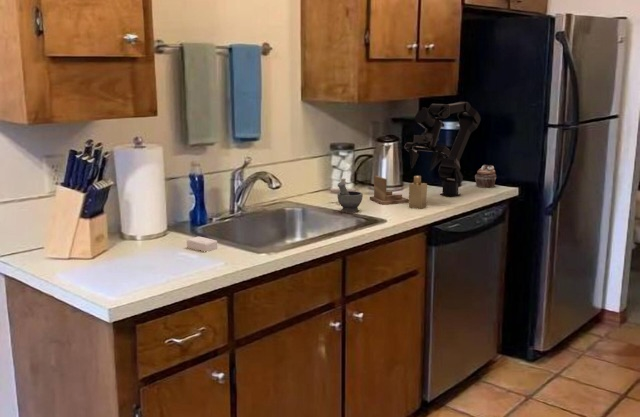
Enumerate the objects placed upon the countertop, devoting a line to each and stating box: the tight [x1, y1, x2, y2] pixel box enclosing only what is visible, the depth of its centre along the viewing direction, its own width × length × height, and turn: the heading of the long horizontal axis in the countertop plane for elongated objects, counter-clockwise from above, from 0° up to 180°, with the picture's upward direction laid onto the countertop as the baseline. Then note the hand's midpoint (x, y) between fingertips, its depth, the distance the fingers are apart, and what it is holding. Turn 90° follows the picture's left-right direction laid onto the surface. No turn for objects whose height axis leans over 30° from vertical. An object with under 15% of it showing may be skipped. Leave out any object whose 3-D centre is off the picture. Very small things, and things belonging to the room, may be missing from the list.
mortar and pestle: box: [337, 181, 364, 213], centre depth 258 cm, size 11×9×12 cm
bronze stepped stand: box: [369, 175, 409, 206], centre depth 276 cm, size 12×12×10 cm
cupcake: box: [474, 164, 497, 189], centre depth 307 cm, size 10×10×10 cm
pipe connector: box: [330, 177, 357, 194], centre depth 274 cm, size 10×10×10 cm
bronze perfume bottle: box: [408, 175, 428, 210], centre depth 264 cm, size 4×6×12 cm
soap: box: [186, 236, 219, 252], centre depth 209 cm, size 9×6×3 cm, turn 51°
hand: (421, 168), depth 269 cm, fingers open, 9 cm apart
